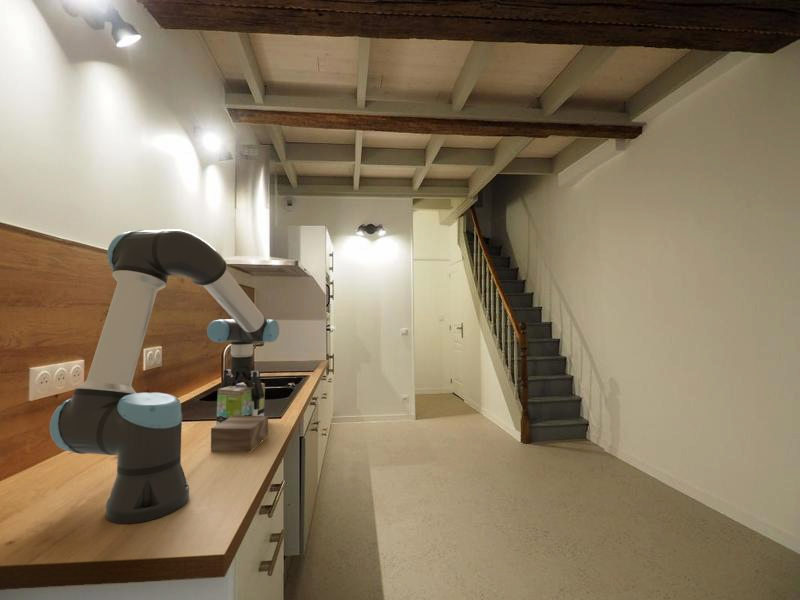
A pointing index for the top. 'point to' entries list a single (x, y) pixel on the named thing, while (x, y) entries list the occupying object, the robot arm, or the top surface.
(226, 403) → the tea box
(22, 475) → the top surface
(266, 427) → the walnut riser
